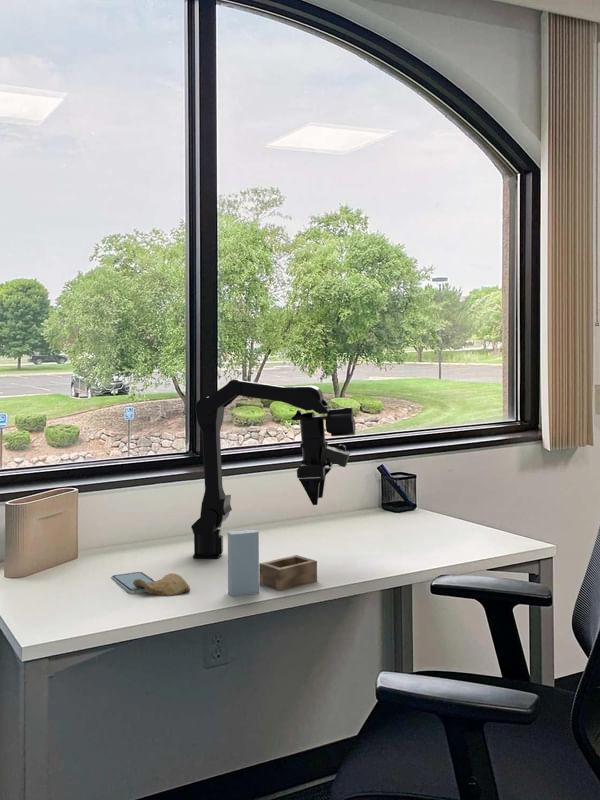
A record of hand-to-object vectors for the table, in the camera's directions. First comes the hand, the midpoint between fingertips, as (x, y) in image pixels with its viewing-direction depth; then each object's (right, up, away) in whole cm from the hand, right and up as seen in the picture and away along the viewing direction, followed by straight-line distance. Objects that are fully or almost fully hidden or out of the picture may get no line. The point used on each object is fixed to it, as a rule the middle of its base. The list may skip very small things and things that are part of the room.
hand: (317, 501), depth 191 cm
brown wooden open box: (-7, -16, -18) cm, 25 cm away
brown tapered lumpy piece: (-34, -16, -23) cm, 44 cm away
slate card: (-16, -16, -26) cm, 34 cm away
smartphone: (-40, -16, -18) cm, 47 cm away
